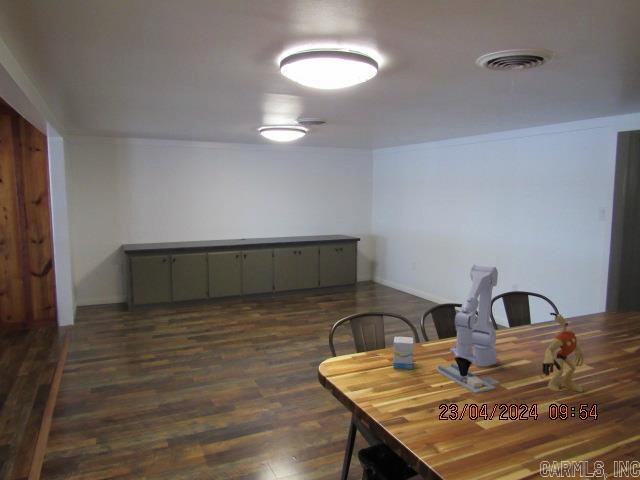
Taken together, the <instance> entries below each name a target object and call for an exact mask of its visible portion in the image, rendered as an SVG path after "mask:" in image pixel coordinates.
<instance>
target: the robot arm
mask: <svg viewBox="0 0 640 480" xmlns="http://www.w3.org/2000/svg"><path fill="white" fill-rule="evenodd" d="M469 272H470V273H469V274H470V275H469V276H470V279H471V284H470V285H471V286H470V289H469V293H468V296H465V298H464V299H463V302H462V305H461V307H460V310H459V311H458V312H457V313H456V314H455V316H454V325H455V331H456V347H454V346H452V347H449V353H451V354H454V356H455V357H454V361H455V364H456V365H458V368H459V372H460V376H462V377H464V376H467V373H468V371H470V370H469V369H470V367H471V366H472V365H474V366H477V367H489V366H492V365H497V357H498V356H497V354H498V353H497V349H496V348H495V346H496V342H497V337H496V336H497V335H496V330H495V329H494V328H493V326H491V325H490V318H491V307H492V298H493V297H492V295H493V288H494V287H497V284H498V278H499V277H498V275H499V273H498V269H497V266H485V265H484V266H483V265H476V264H473V265H472V266H471V268H470V271H469ZM476 314H477V315H476ZM476 316H477V322H476Z"/></svg>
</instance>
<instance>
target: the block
mask: <svg viewBox="0 0 640 480" xmlns="http://www.w3.org/2000/svg"><path fill="white" fill-rule="evenodd" d="M466 384H468V385H469V386H471V387H473V388H475V389H478V388H482V387H483V386H484V385H483V381H481V380H480V378H479V377H478V376H477V375H476V376H474V377H468V378H467V382H466Z"/></svg>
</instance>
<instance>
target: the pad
mask: <svg viewBox="0 0 640 480" xmlns="http://www.w3.org/2000/svg"><path fill="white" fill-rule="evenodd" d="M479 379H481V380H483V381H485V382H487V383H489V384H491V385H495V384H498V383H499V384H500V383H501V382H500V381H498V380H496V379H494V378H493V377H490V376H486V377H481V378H479Z"/></svg>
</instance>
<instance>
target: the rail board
mask: <svg viewBox="0 0 640 480" xmlns="http://www.w3.org/2000/svg"><path fill="white" fill-rule="evenodd" d="M435 372H438V373H439V374H441V375H442V376H444V377H445V378H447V379H449V380H451V381H453V382H454V383H456V384H458V385H460V386H461V387H463V388H464V389H466V390H468V391H470V392H471V393H473V394H479V393H483V392H487V391H488V392H489V391H491V390H495V389H497V387H496V386H494V385H493V384H489V383H487V382H485V381H483V380H481V379H480V378H479V379H480V380H481V381H483V385H482V387H478V388H473V387H471V386H469V385H468V384H467V378H468V377H474V376H477V374H476V373H473V372H471V371H470V370H468V373H467V376H464V377H462V376H460V372H459V368H458V365H457V363H455V362H450V366H446V367H445V366H444V365H441V364H438V367H437V368H436V369H435Z"/></svg>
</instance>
